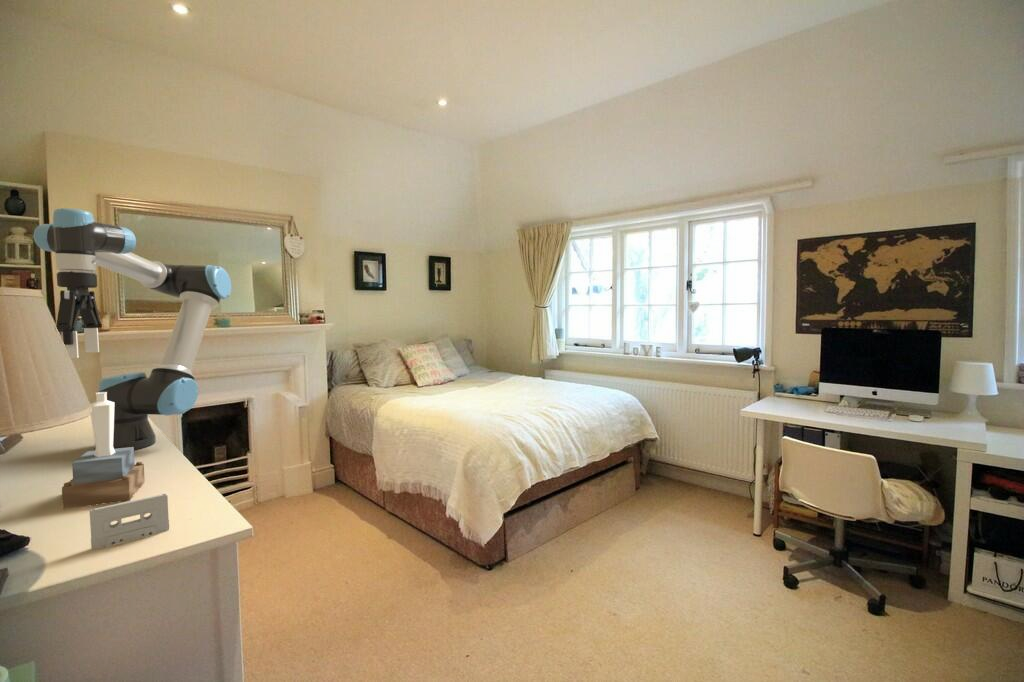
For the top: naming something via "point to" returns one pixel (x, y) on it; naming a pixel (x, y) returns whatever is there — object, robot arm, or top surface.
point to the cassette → (132, 530)
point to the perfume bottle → (103, 424)
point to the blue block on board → (103, 479)
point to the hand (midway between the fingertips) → (82, 355)
